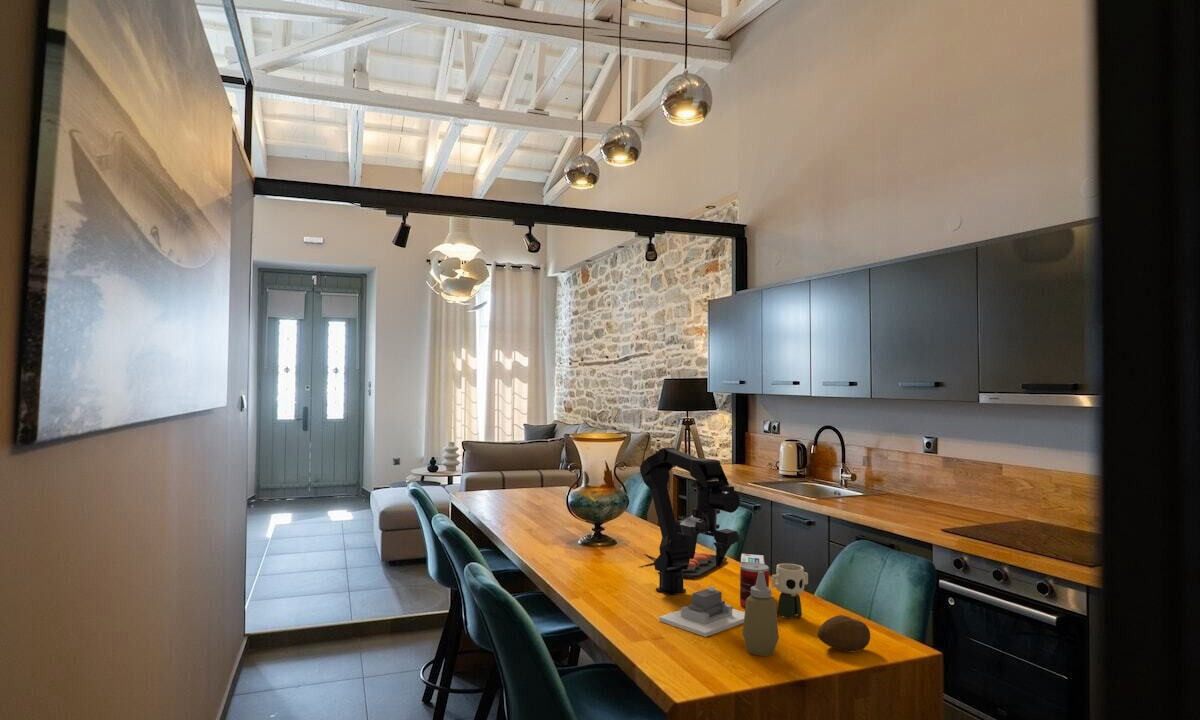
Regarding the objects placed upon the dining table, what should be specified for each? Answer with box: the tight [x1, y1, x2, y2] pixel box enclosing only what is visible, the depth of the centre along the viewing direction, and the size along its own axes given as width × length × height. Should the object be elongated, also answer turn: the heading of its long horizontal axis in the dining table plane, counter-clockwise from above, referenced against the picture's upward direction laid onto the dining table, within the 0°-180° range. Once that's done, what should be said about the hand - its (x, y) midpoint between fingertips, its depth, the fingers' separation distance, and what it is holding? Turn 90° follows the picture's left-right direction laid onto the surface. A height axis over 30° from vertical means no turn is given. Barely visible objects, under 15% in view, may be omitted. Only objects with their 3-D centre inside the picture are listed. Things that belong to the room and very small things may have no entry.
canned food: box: [739, 563, 770, 609], centre depth 195 cm, size 8×8×11 cm
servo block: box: [687, 585, 726, 617], centre depth 183 cm, size 4×10×7 cm, turn 133°
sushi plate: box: [639, 551, 728, 578], centre depth 239 cm, size 29×30×4 cm
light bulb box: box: [740, 553, 766, 565], centre depth 205 cm, size 11×7×11 cm, turn 168°
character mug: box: [771, 563, 809, 619], centre depth 187 cm, size 11×7×13 cm, turn 108°
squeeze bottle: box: [742, 572, 780, 657], centre depth 162 cm, size 8×8×18 cm
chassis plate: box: [658, 603, 745, 638], centre depth 183 cm, size 15×20×3 cm
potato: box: [816, 614, 871, 652], centre depth 164 cm, size 8×12×8 cm, turn 103°
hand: (704, 562), depth 195 cm, fingers open, 9 cm apart
